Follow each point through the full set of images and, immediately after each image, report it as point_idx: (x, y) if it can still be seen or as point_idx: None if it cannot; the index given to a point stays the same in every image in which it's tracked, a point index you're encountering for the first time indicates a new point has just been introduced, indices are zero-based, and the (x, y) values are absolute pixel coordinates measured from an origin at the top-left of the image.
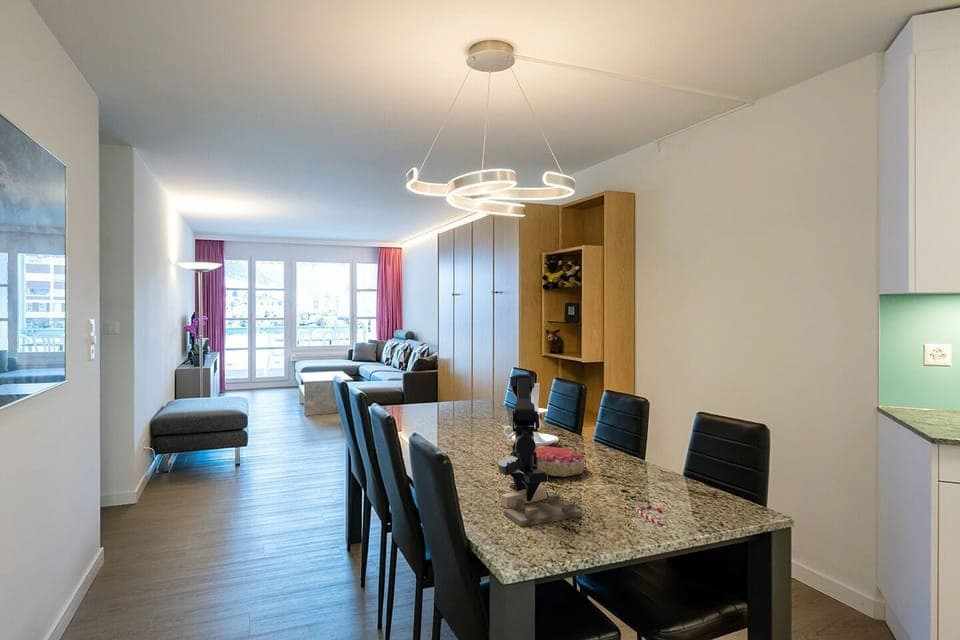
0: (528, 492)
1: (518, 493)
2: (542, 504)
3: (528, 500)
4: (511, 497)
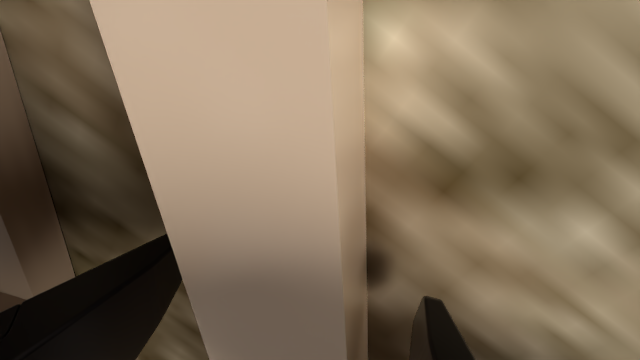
0: (33, 307)
1: (217, 240)
2: (3, 251)
3: (161, 241)
4: (112, 12)
